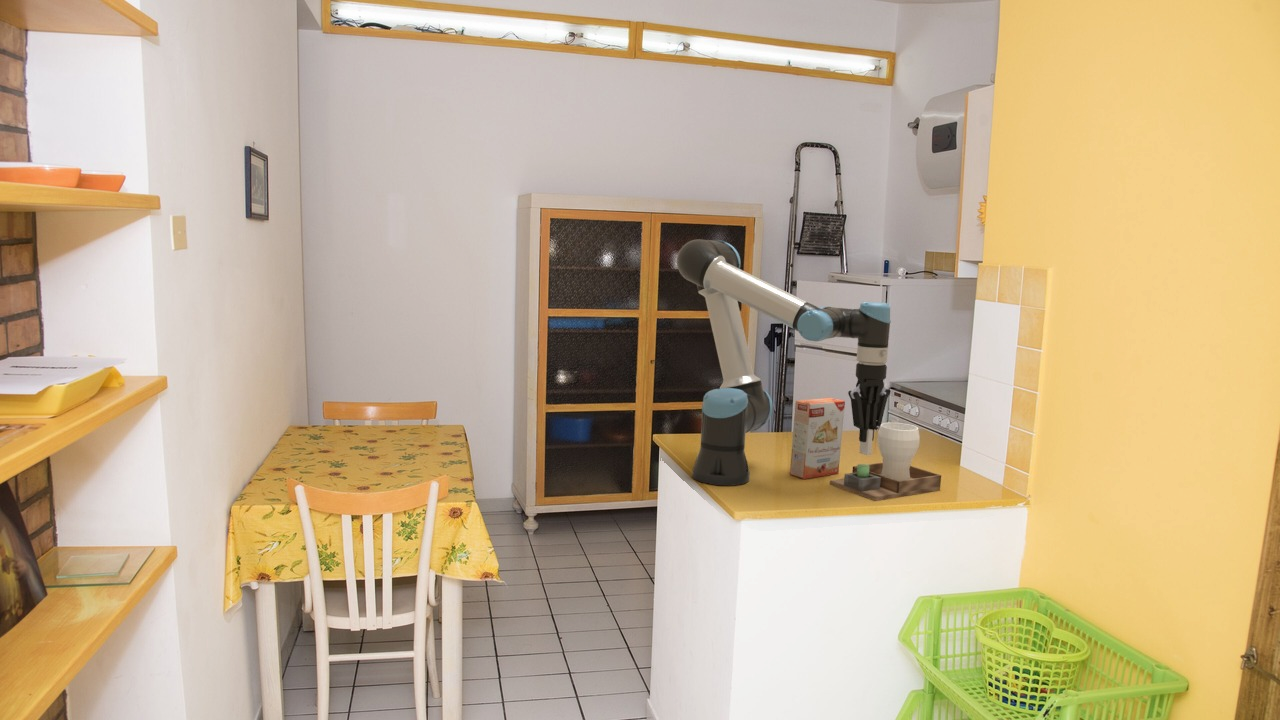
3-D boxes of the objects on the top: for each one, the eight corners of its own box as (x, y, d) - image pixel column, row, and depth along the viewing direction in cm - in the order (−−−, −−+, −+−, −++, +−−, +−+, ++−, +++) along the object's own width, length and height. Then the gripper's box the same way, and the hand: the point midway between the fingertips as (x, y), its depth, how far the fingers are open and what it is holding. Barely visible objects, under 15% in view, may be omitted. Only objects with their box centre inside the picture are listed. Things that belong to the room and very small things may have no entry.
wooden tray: (874, 500, 211) (876, 485, 210) (829, 484, 224) (830, 469, 224) (939, 490, 223) (941, 475, 223) (893, 474, 237) (894, 460, 236)
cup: (909, 489, 219) (913, 432, 216) (868, 482, 224) (873, 426, 222) (920, 480, 227) (925, 426, 225) (881, 473, 233) (886, 420, 231)
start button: (862, 480, 217) (863, 467, 217) (854, 477, 220) (855, 464, 219) (870, 479, 219) (871, 466, 218) (862, 476, 221) (863, 463, 221)
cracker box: (805, 480, 227) (810, 403, 224) (788, 475, 232) (793, 399, 229) (840, 474, 235) (846, 400, 232) (824, 469, 240) (829, 396, 237)
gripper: (864, 366, 208) (857, 459, 211) (901, 364, 215) (894, 454, 218) (842, 362, 215) (836, 453, 218) (878, 360, 222) (872, 448, 225)
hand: (865, 453), depth 218 cm, fingers closed
